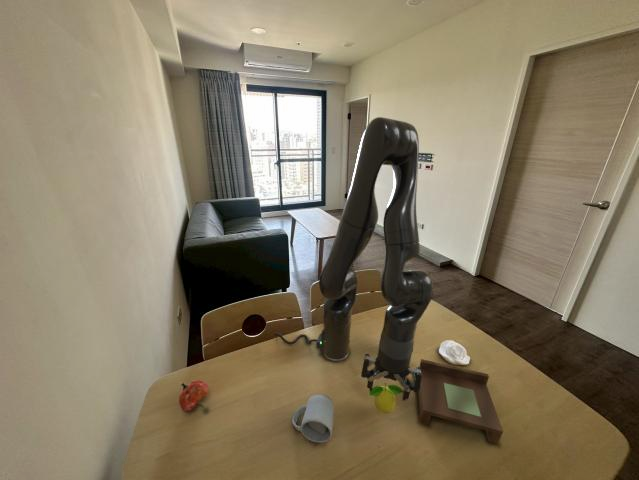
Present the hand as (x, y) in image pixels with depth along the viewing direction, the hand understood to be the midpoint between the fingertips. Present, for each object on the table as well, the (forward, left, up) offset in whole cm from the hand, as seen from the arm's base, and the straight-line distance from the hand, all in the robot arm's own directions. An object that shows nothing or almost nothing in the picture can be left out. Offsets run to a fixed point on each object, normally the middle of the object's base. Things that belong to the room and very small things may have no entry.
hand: (386, 392), depth 66 cm
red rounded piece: (-50, -13, -8) cm, 53 cm away
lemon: (0, 0, -7) cm, 7 cm away
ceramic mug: (-17, -9, -8) cm, 21 cm away
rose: (+23, +27, -8) cm, 36 cm away
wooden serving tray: (+19, +7, -8) cm, 21 cm away
